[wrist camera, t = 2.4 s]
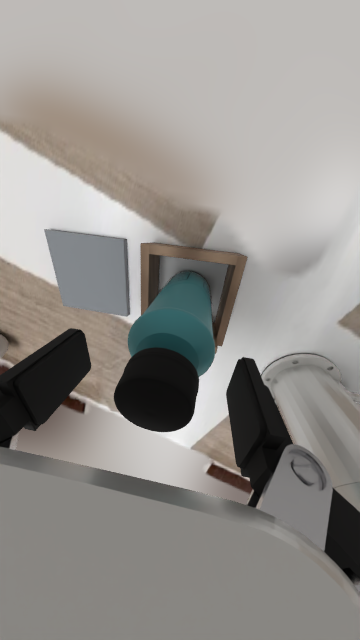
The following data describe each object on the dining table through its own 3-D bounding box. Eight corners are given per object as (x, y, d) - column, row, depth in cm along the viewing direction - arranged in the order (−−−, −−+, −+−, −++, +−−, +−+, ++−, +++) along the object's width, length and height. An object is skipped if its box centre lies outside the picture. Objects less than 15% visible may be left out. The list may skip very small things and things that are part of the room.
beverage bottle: (171, 264, 24) (65, 337, 6) (215, 272, 23) (247, 376, 5) (166, 305, 27) (88, 434, 9) (206, 312, 26) (206, 463, 8)
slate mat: (126, 239, 23) (123, 239, 22) (129, 314, 28) (127, 316, 27) (50, 229, 24) (44, 229, 23) (67, 303, 29) (63, 305, 28)
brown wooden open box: (238, 253, 22) (252, 258, 15) (219, 329, 27) (223, 355, 21) (153, 242, 22) (133, 243, 16) (151, 317, 28) (135, 339, 22)
